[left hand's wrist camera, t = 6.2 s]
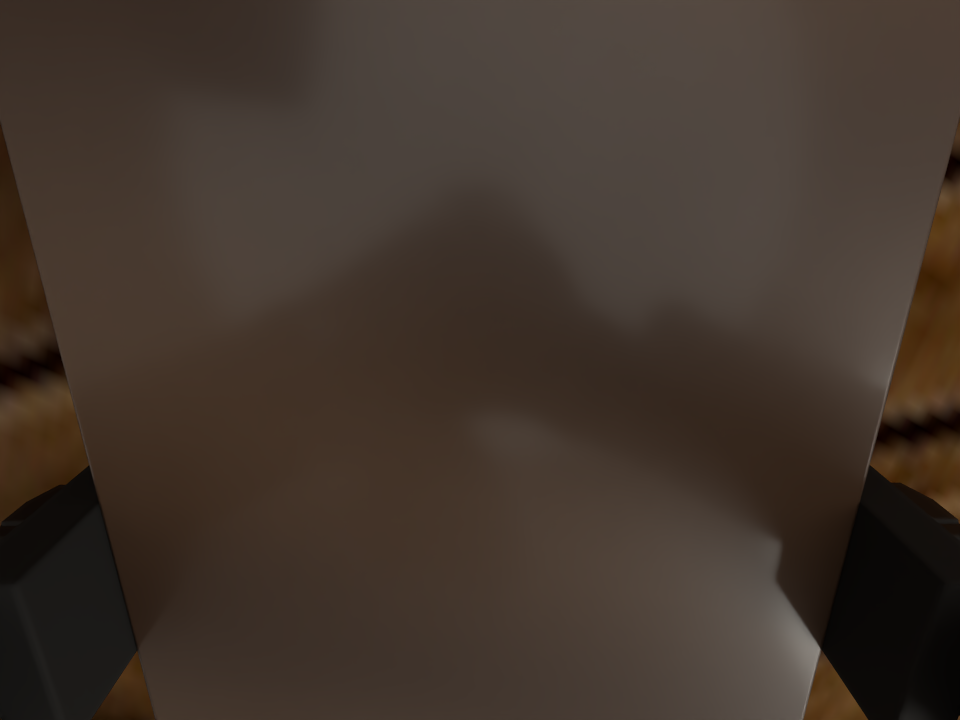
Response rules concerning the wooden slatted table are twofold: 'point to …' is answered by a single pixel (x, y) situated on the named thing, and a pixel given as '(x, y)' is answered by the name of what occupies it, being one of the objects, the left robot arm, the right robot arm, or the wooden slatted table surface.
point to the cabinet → (479, 334)
